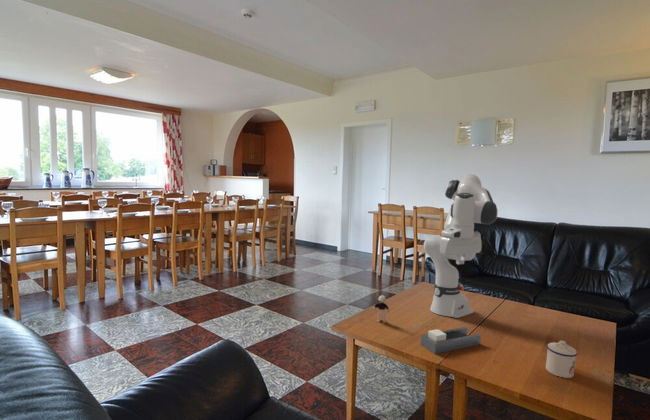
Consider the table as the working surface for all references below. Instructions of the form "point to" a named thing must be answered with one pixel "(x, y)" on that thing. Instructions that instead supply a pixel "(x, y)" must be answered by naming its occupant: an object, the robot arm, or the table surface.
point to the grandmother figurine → (381, 309)
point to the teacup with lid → (561, 359)
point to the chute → (451, 341)
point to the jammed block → (436, 335)
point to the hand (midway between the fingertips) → (459, 264)
